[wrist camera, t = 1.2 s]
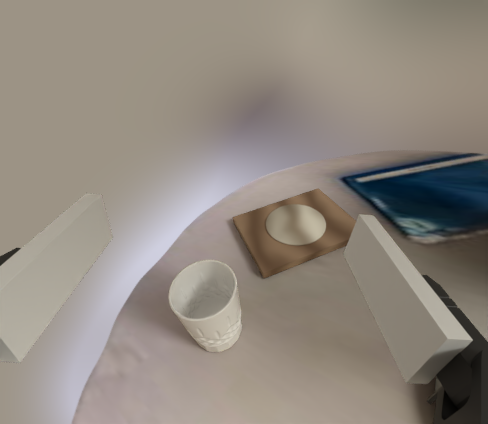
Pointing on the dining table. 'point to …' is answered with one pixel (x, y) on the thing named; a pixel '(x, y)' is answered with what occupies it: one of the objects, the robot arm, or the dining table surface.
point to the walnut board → (294, 231)
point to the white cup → (208, 304)
